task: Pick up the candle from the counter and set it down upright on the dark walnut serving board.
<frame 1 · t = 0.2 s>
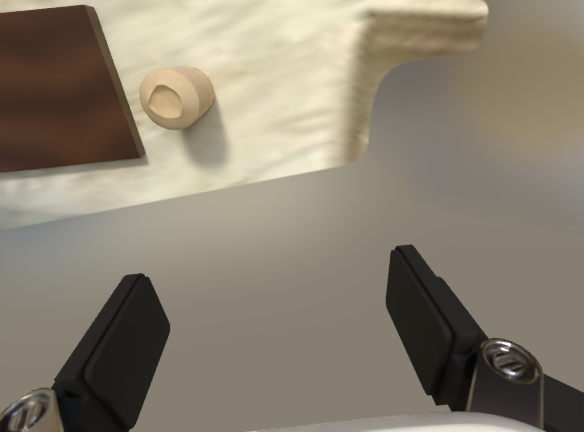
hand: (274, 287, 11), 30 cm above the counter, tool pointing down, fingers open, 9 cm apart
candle: (192, 91, 35), on the counter
walnut board: (39, 97, 34), on the counter
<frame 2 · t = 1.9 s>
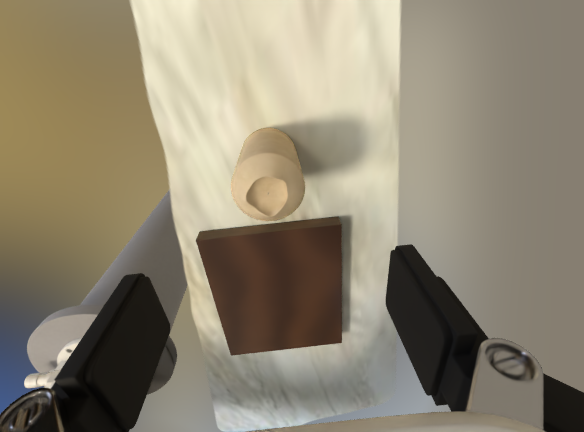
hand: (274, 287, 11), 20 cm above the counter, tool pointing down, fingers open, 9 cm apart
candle: (268, 154, 29), on the counter
walnut board: (278, 288, 37), on the counter
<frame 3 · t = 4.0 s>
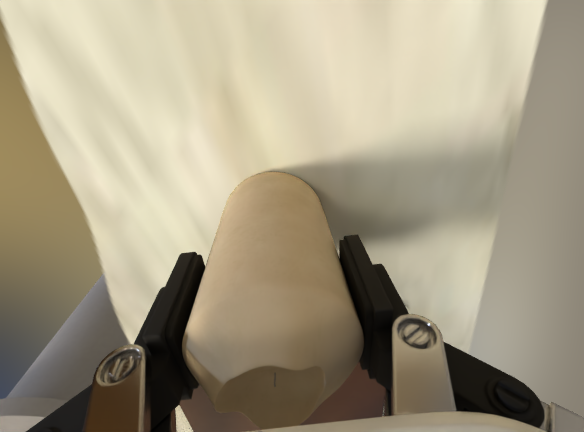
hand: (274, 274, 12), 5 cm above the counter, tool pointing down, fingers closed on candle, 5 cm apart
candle: (273, 214, 16), on the counter, touching gripper
walnut board: (286, 394, 25), on the counter
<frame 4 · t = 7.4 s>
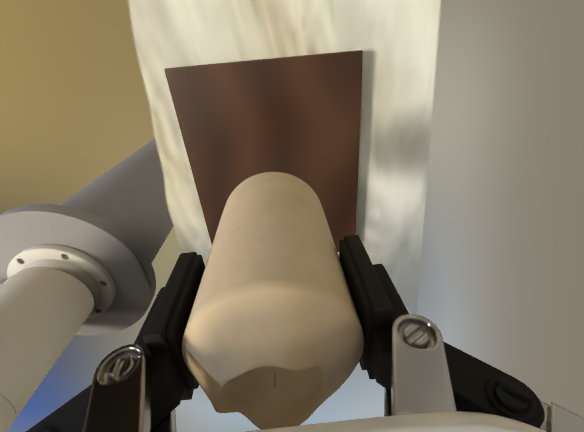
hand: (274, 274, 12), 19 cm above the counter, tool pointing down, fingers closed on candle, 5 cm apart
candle: (273, 214, 16), point 14 cm above the counter, touching gripper
walnut board: (276, 169, 29), on the counter
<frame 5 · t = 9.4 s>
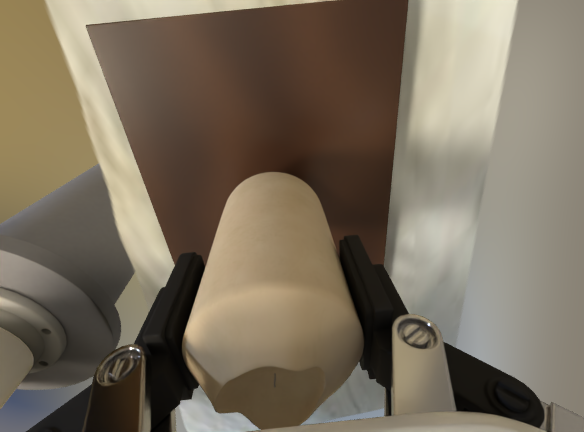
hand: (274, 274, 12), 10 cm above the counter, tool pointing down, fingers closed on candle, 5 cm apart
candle: (273, 214, 16), point 5 cm above the counter, touching gripper
walnut board: (272, 182, 20), on the counter
when the fingers open (7 cm above the counter, at t = 10.7 s): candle stays where it is, resting on walnut board.
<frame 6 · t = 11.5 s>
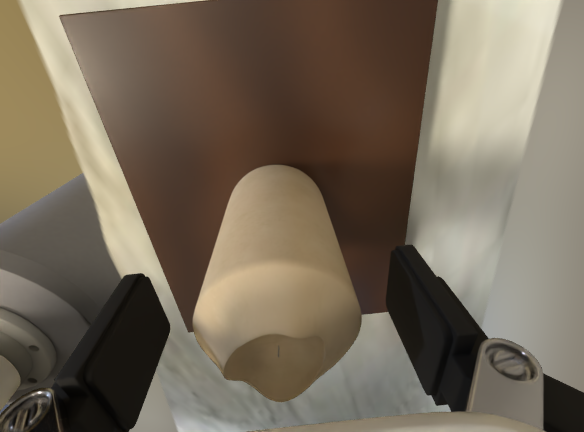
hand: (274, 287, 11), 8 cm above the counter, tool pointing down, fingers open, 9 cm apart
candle: (276, 206, 17), point 2 cm above the counter, touching walnut board
walnut board: (277, 194, 18), on the counter
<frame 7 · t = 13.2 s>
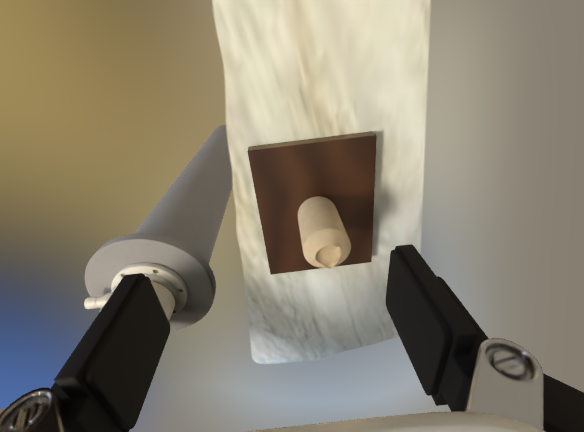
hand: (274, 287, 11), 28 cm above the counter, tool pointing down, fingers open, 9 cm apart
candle: (316, 212, 40), point 2 cm above the counter, touching walnut board
walnut board: (315, 207, 41), on the counter
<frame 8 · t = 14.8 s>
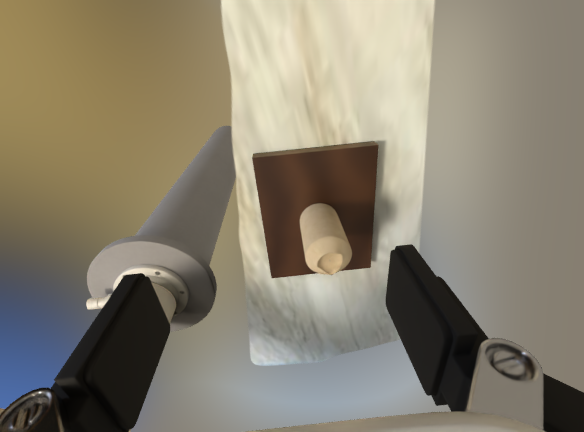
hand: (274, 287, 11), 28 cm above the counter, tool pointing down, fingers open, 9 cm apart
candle: (318, 219, 41), point 2 cm above the counter, touching walnut board
walnut board: (317, 213, 42), on the counter
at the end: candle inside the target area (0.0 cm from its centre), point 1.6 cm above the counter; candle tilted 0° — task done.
